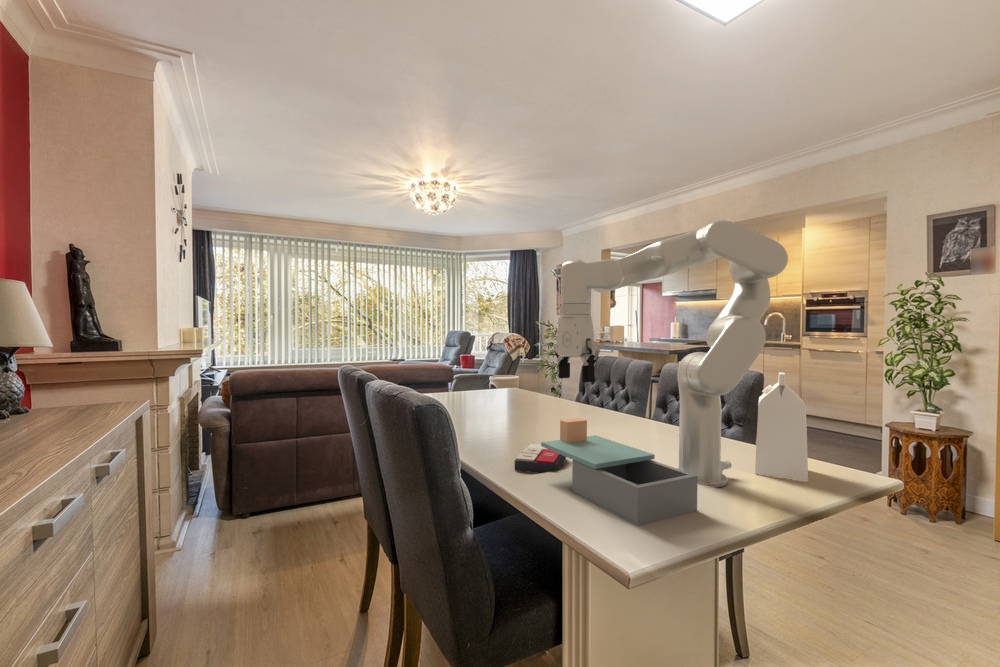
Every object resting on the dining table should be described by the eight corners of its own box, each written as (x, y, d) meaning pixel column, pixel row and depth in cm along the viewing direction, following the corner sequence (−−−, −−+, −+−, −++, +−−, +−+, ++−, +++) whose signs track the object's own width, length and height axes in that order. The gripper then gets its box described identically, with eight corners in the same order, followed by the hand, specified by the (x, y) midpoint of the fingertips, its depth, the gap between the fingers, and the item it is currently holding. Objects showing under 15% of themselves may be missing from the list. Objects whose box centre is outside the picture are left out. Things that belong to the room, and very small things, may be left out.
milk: (808, 482, 115) (810, 376, 114) (754, 474, 120) (756, 373, 120) (804, 469, 125) (806, 372, 125) (755, 462, 131) (757, 370, 130)
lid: (595, 439, 122) (595, 416, 122) (654, 459, 104) (654, 432, 104) (541, 446, 114) (541, 421, 114) (594, 469, 96) (595, 440, 96)
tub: (626, 485, 111) (627, 451, 111) (697, 515, 93) (697, 475, 93) (572, 495, 104) (572, 460, 104) (637, 531, 86) (637, 487, 86)
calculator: (514, 457, 122) (528, 441, 136) (514, 473, 122) (528, 456, 136) (555, 461, 118) (566, 444, 132) (555, 478, 118) (566, 459, 133)
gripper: (544, 312, 122) (544, 377, 122) (585, 310, 107) (585, 384, 107) (567, 312, 126) (567, 376, 126) (610, 310, 110) (610, 382, 110)
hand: (575, 379), depth 116 cm, fingers open, 9 cm apart
